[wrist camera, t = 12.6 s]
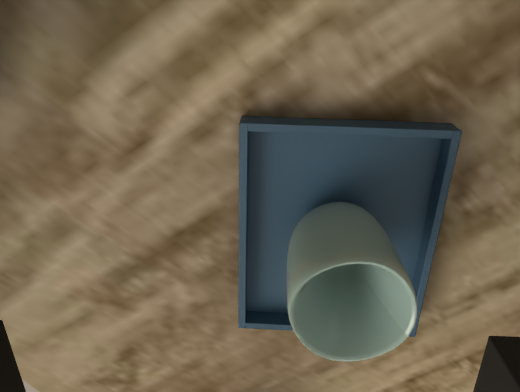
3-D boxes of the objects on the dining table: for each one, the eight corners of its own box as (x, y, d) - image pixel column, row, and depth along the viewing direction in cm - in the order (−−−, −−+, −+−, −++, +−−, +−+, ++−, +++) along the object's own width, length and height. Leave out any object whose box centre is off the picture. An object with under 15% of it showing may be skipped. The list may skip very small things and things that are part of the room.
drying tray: (451, 123, 31) (462, 131, 29) (408, 321, 39) (415, 337, 37) (241, 115, 32) (239, 122, 30) (240, 312, 39) (238, 328, 37)
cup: (394, 255, 35) (433, 344, 26) (305, 282, 37) (312, 375, 28) (367, 173, 33) (400, 242, 23) (271, 206, 34) (267, 283, 25)
